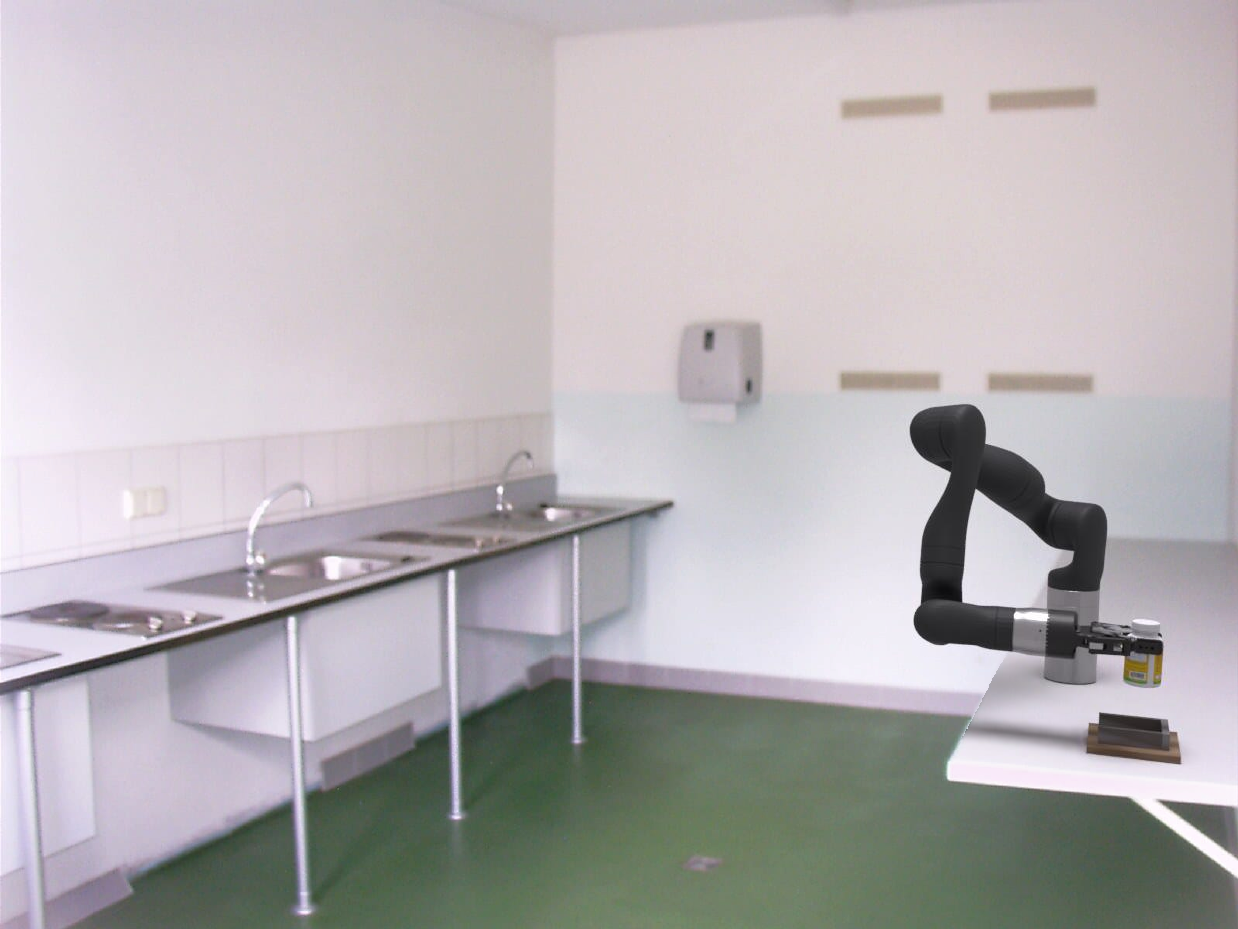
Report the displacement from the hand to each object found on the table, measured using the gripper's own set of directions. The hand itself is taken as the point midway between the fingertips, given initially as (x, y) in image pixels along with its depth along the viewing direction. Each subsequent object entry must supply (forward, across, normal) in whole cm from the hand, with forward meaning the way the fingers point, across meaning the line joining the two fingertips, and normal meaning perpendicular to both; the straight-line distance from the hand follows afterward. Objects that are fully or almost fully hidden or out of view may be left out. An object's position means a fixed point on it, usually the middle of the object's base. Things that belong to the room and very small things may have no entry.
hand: (1161, 643), depth 192 cm
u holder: (-4, 0, +16) cm, 17 cm away
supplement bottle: (-2, 0, +7) cm, 7 cm away
